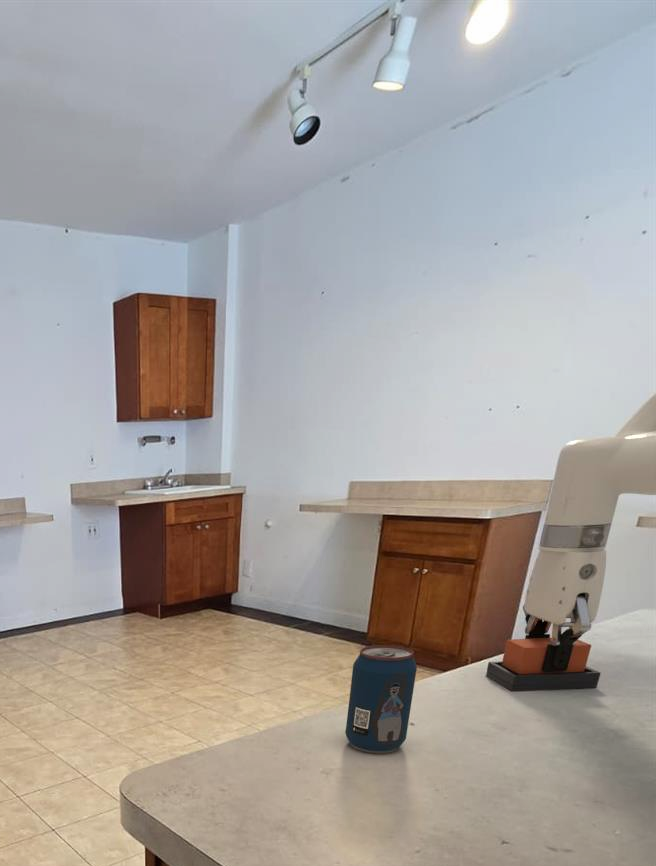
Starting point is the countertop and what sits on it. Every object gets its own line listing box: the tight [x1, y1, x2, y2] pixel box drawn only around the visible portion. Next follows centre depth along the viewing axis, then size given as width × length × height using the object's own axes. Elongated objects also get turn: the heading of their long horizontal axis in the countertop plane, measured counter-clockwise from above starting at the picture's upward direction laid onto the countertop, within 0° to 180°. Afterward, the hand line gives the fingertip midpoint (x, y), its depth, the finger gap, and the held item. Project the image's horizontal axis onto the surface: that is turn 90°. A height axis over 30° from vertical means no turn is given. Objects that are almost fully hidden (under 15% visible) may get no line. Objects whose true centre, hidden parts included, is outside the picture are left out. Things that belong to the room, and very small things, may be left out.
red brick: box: [501, 637, 592, 674], centre depth 95 cm, size 9×5×4 cm, turn 85°
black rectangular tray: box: [485, 660, 602, 692], centre depth 96 cm, size 12×8×2 cm, turn 85°
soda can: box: [345, 644, 418, 754], centre depth 78 cm, size 7×7×12 cm
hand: (543, 664), depth 95 cm, fingers closed on red brick, 5 cm apart
